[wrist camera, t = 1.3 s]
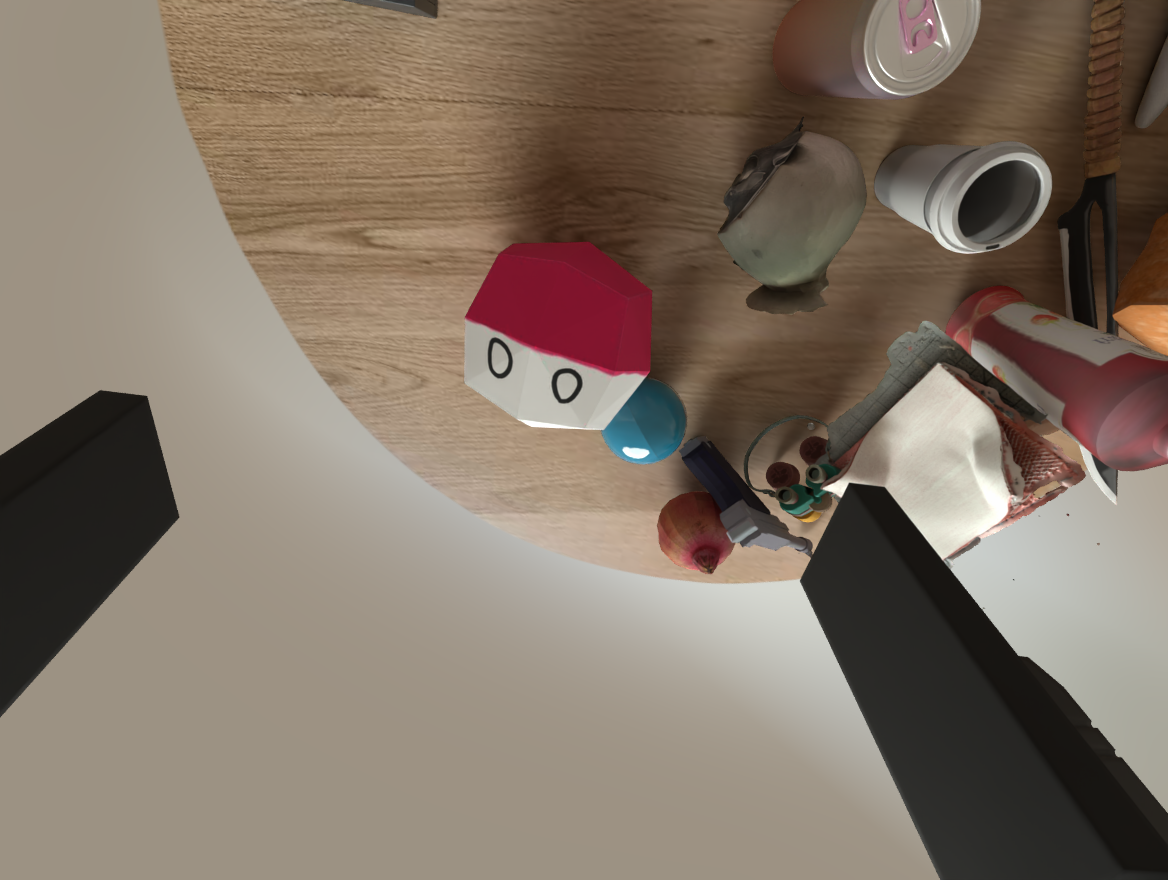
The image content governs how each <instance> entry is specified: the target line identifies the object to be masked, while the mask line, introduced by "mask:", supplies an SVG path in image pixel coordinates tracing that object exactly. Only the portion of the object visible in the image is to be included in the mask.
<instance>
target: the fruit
mask: <svg viewBox="0 0 1168 880" xmlns="http://www.w3.org/2000/svg"><path fill="white" fill-rule="evenodd" d="M721 513H722V511H721V509H720V507H719V506H718V504H717V502H716V501H715V499H714V498H713V497H712V495H711V494H710V493H707V492H689V493H685V494H681V495H679V496H677V497H676V498H674V499H672V500H670V501H669V502H668V503H667V504H666V505H665V506H664V508H663V509H662V511H661V513H660V516H659V520H658V524H657V527H658V532H659V544H660V547H661V550H662V551H663V552H664V553H665V554H666V555H667V556H668V557H669V558H670V559H671V560H672V561H673V562H674V563H675V564H677V565H678V566H681V567H684V568H687V569H693V570H699V571H701V572H702V573H705V574H712V573H713V572H714V570H715V569H716V567H717V565H719V564H721V563H723V562H724V560H725V559H726V558H727V557H728V556H729V555H730V554H731V552H732V550H733V548H734V545H735V543H732V542H731V540H730V539H729V537H728V535H727V534H726V533H727V532H728V530H726V528H725V527H724V525H723V523H722V522H721V520H720V514H721Z"/></svg>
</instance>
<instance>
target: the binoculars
mask: <svg viewBox="0 0 1168 880" xmlns="http://www.w3.org/2000/svg"><path fill="white" fill-rule="evenodd" d="M799 418H802V419H810V420H814V421H816V422H819V423H821V424H823V425H825V426H826V427H828V425H827V424H825V423H824V422H822V421H820V420H818V419H815V418H813V417H809V416H802V415H796V416H790V417H787V418H784V419H782V420H779V421H777V422H775V423H774V424H772V425H770V426H769V427H767V428H766V429H765V430H763V431H762V432H761V433H760V434H759V435H758V436H757V437H756V439H755V440H754V441H753V442H752V444H751V445H750V447H749V449H748V450H747V453H746V455H745V460H744V474H745V479H746V482H747V484H748V486H749V487H750V488H751V489H753V490H755V491H758V492H763V493H764V494H769V496H771V497H775V498H776V499H777V500H778V501H779V503H780V506H781V508H782V509H783V510H785V511H786V512H787V513H789V514H791V515H792V516H793V517H795V518H797V519H799V520H801V521H804V522H812V521H815V520H817V519H818V518H819V517H820V515H821V513H822V512H825V511H827V510H828V509H829V508H830V507H831V505H832V499H831V498H832V497H833V496H834V495H836V494H835V493H833V492H829V491H825V490H824V491H823V490H822V489H821V486H822V484H823V483H824V482H825V481H827V480H829V479H830V478H832V477H833V476H835V475H838V474H839V473H840V472H841V471H842V469H841V468H839V467H837V466H836V465H837V464H835V463H834V460H833V459H832V458H830V454H831V453H829V450H830V449H831V447H832V446H831V442H830V439H829V438H828V440H826V439H823V438H821V437H817V436H812V437H809V438H807V439H805V440H804V441H803V442H802V443H801V445H800V450H799V451H800V455H801V457H802V459H803V460H804V461H805V463H806V464H807V465H808V466H809V467H808V468H807V470H806V484H807V486H808V487H811V488H813V489H811V488H808V487H806V486H803V485H799V481H800V474H799V471H798V469H797V468H796V467H795V466H793V465H791V464H788V463H784V462H776V463H774V464H772V465H771V466H770V467H769V468H768V470H767V473H766V479H767V482H768V483H769V484H770V485H771V486H772V487H773V488H774V489H775V490H776V493H775V492H774V491H772V490H768V489H764V490H758V489H755V488H754V487H753V486H752V485H751V483H750V480H749V476H748V460H749V456H750V454H751V451H752V450H753V448H754V447H755V445H756V444H757V443H758V441H759V440H760V439H761V438H762V437H763V436H764V435H765V434H766V433H767V432H768V431H770V430H771V429H773V428H774V427H776V426H778V425H780V424H782V423H784V422H787V421H789V420H793V419H799ZM826 453H827V454H828V457H829V460H828V462H829V463H830V464H832V463H833V464H832V465H833V466H832V465H828V464H821V465H819V466H818V465H815V463H816V461H817V460H818V459H819V458H820V457H821V456H823V455H824V454H826ZM831 462H832V463H831ZM834 464H835V465H834ZM770 492H772V493H770Z"/></svg>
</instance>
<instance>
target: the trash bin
mask: <svg viewBox="0 0 1168 880" xmlns="http://www.w3.org/2000/svg"><path fill="white" fill-rule="evenodd" d="M344 1H349V2H354V3H359V4H364V5H369V6H374V7H379V8H384V9H389V10H395V11H400V12H405V13H410V14H415V15H420V16H425V17H430V18H435V19H436V18H437V0H344Z"/></svg>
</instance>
